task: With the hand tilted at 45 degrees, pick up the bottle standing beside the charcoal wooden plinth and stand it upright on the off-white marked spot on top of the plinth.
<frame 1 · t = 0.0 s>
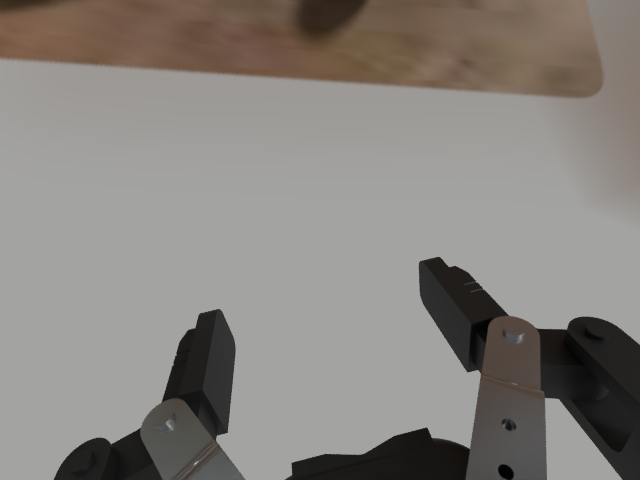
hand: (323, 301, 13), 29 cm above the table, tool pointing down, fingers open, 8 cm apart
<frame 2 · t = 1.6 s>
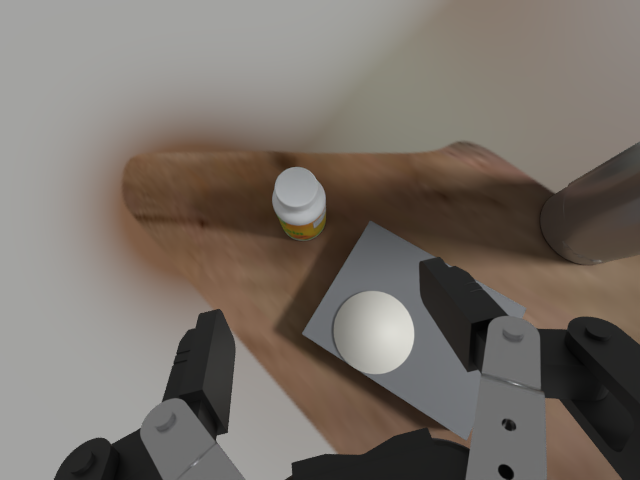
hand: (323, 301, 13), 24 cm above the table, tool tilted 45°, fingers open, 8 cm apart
plinth: (407, 321, 36), on the table
supplement bottle: (303, 220, 39), on the table
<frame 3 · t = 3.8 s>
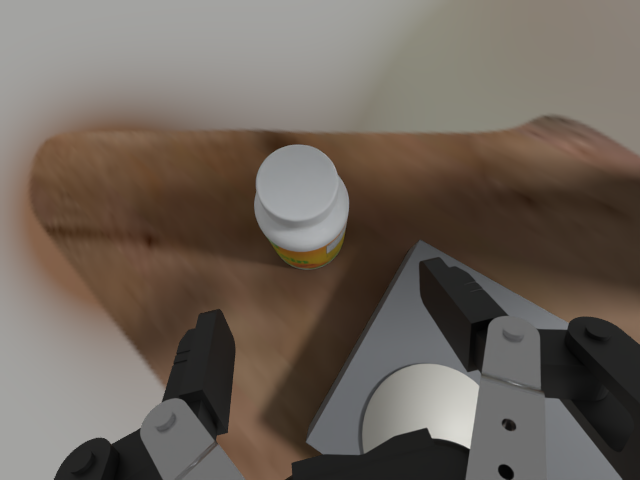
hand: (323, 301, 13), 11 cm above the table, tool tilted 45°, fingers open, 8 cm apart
plinth: (480, 407, 22), on the table
supplement bottle: (308, 236, 25), on the table
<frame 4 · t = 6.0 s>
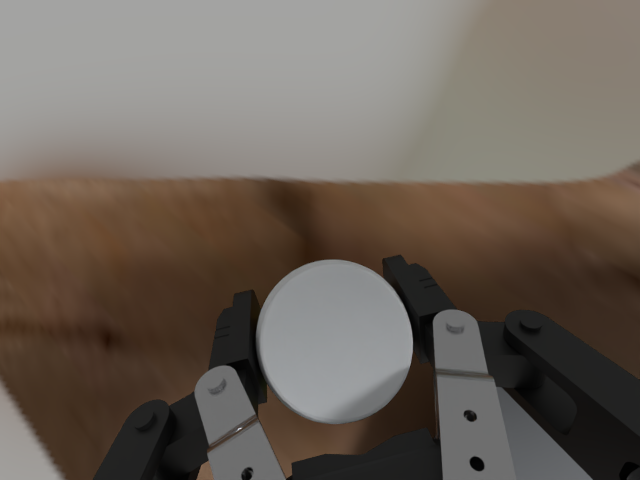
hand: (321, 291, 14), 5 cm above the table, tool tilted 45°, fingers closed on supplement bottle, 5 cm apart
supplement bottle: (330, 333, 18), on the table, touching gripper
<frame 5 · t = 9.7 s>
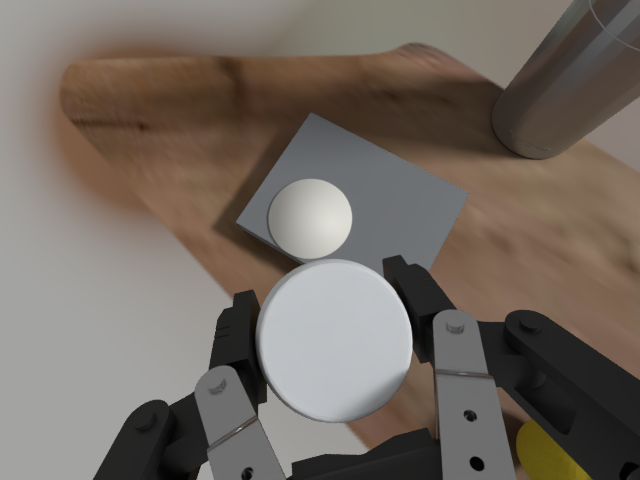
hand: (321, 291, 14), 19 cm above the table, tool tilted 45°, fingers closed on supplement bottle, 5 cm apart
plinth: (350, 217, 34), on the table
lemon: (528, 439, 29), on the table
supplement bottle: (330, 332, 18), point 14 cm above the table, touching gripper
when the fingers open (9 cm above the table, at t = 13.7 s): supplement bottle drops 1 cm, resting on plinth.
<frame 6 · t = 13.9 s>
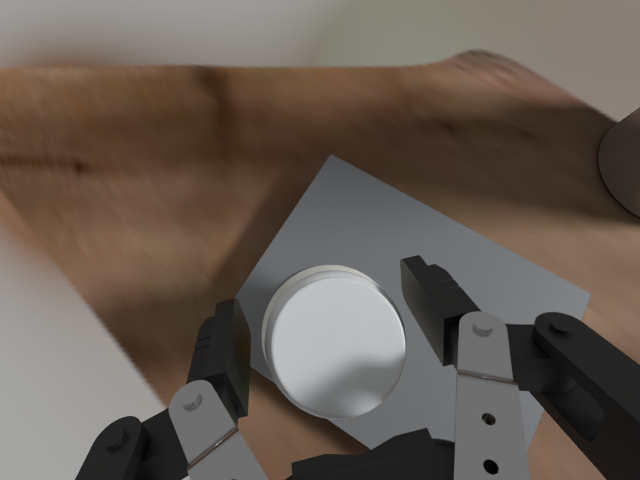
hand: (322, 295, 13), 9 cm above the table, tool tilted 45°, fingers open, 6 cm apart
plinth: (390, 317, 22), on the table
supplement bottle: (331, 335, 19), point 3 cm above the table, touching plinth
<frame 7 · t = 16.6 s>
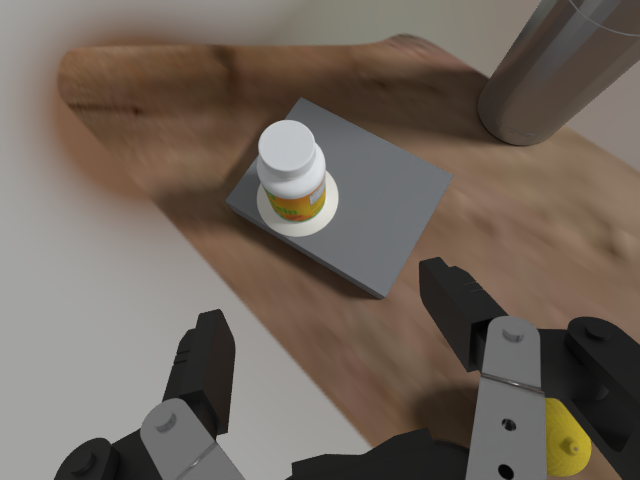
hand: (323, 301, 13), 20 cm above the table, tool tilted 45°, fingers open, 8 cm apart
plinth: (338, 199, 35), on the table
lemon: (509, 416, 30), on the table
supplement bottle: (298, 199, 32), point 3 cm above the table, touching plinth
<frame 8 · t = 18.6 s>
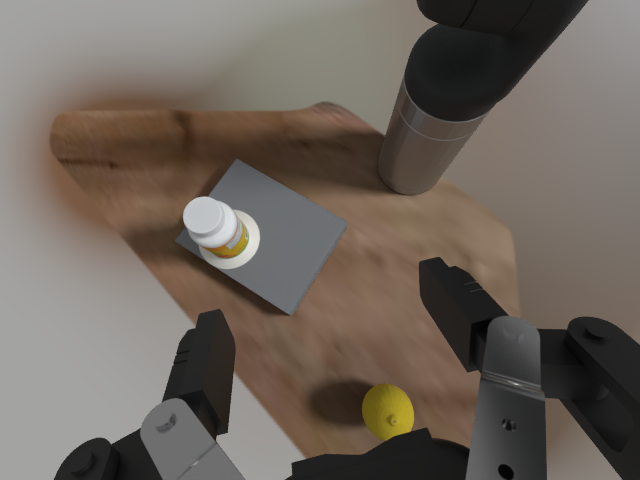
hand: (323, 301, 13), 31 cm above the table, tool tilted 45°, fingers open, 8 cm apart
plinth: (265, 237, 46), on the table
lemon: (381, 402, 40), on the table
supplement bottle: (230, 239, 43), point 3 cm above the table, touching plinth
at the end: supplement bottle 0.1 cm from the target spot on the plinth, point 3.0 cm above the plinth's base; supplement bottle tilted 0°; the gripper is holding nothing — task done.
